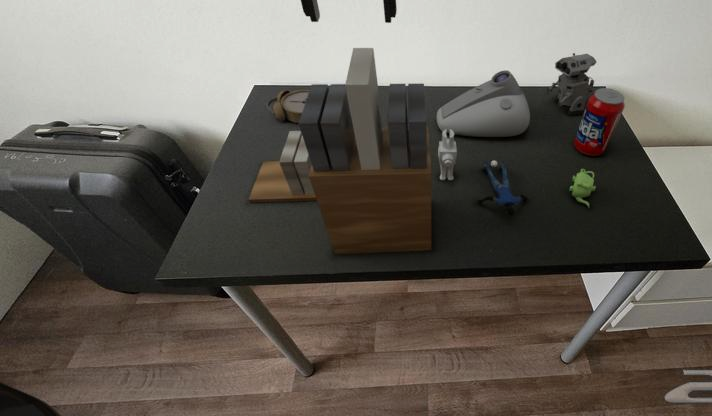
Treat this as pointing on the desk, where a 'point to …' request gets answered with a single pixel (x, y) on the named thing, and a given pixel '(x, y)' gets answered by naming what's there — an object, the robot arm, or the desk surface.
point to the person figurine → (502, 189)
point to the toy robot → (447, 155)
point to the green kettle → (582, 186)
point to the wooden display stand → (285, 175)
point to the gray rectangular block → (365, 107)
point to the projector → (487, 109)
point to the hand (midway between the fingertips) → (352, 20)
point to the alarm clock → (289, 105)
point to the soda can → (599, 121)
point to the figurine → (574, 82)
